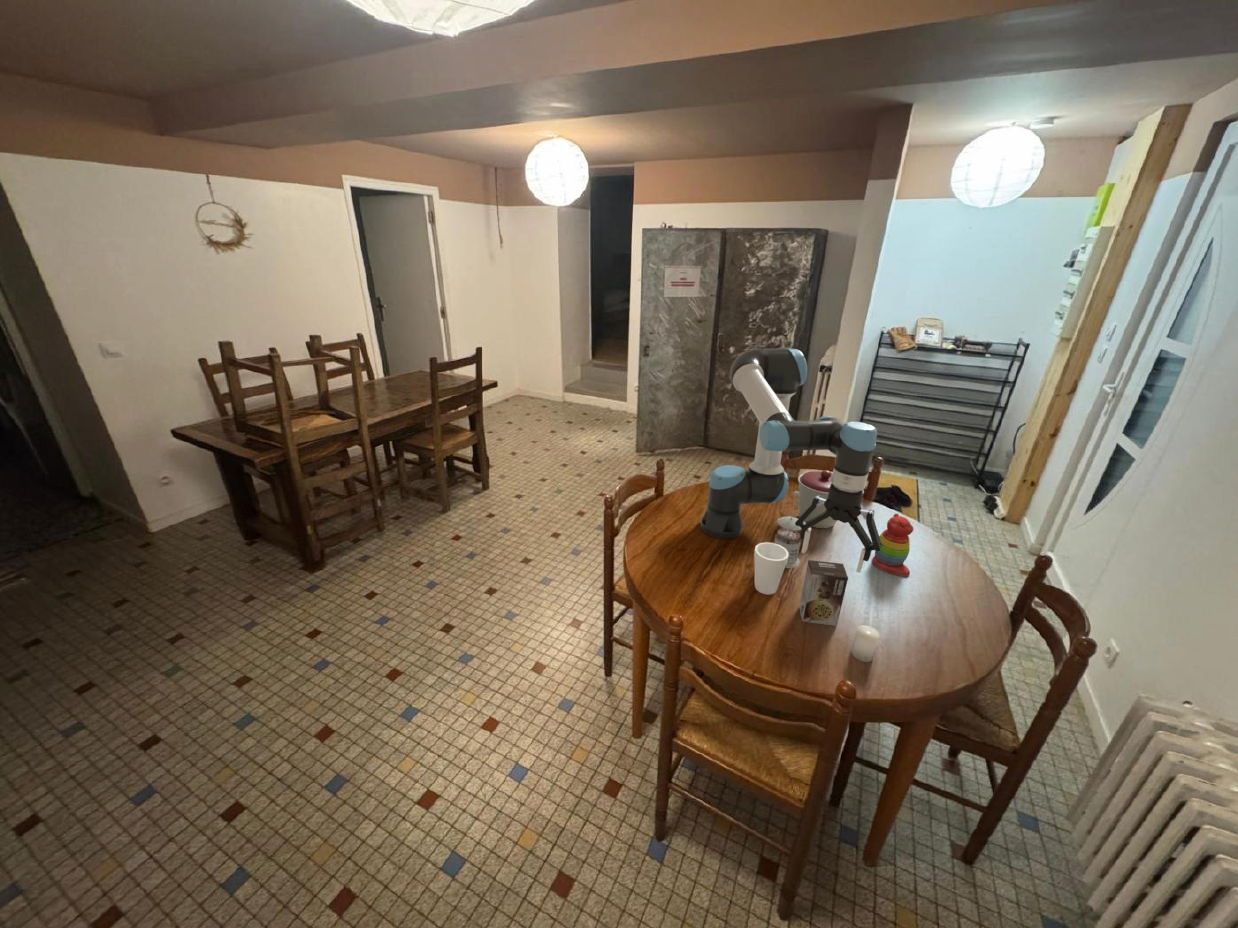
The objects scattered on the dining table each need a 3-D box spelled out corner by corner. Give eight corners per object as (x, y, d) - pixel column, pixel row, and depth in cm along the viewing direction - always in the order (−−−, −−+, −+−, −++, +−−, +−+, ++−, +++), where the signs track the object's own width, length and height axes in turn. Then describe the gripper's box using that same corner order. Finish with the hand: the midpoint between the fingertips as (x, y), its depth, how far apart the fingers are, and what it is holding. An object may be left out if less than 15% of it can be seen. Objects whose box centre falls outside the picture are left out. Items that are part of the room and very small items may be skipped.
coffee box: (832, 610, 131) (844, 563, 125) (837, 627, 125) (849, 577, 119) (798, 606, 133) (808, 558, 126) (801, 621, 127) (812, 573, 120)
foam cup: (745, 578, 144) (750, 542, 139) (774, 577, 145) (780, 541, 140) (756, 598, 135) (762, 561, 130) (786, 597, 136) (794, 560, 131)
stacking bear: (911, 577, 145) (927, 528, 138) (876, 573, 147) (890, 524, 140) (899, 557, 155) (913, 511, 148) (866, 554, 157) (879, 507, 150)
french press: (765, 562, 152) (777, 494, 142) (772, 545, 161) (783, 479, 151) (797, 571, 148) (811, 501, 138) (802, 552, 157) (816, 486, 147)
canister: (809, 536, 166) (820, 483, 158) (781, 512, 183) (790, 463, 174) (852, 531, 170) (865, 478, 162) (822, 507, 186) (832, 459, 178)
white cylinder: (848, 655, 116) (854, 633, 113) (853, 643, 120) (859, 622, 117) (870, 665, 113) (877, 643, 111) (875, 652, 117) (881, 631, 114)
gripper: (790, 477, 117) (778, 549, 125) (903, 507, 103) (881, 585, 111) (800, 468, 123) (788, 537, 131) (908, 495, 109) (887, 571, 117)
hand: (830, 560), depth 121 cm, fingers open, 13 cm apart
